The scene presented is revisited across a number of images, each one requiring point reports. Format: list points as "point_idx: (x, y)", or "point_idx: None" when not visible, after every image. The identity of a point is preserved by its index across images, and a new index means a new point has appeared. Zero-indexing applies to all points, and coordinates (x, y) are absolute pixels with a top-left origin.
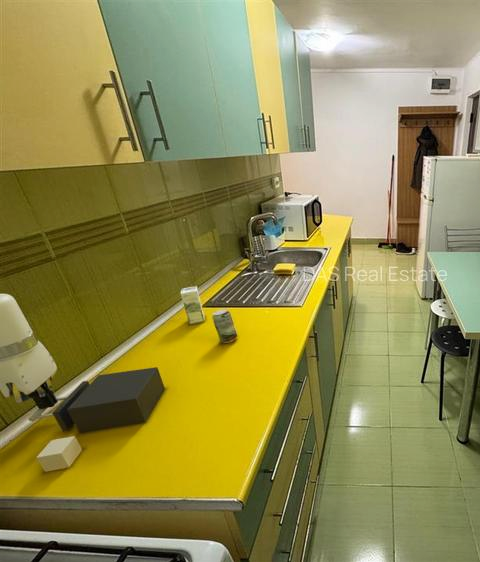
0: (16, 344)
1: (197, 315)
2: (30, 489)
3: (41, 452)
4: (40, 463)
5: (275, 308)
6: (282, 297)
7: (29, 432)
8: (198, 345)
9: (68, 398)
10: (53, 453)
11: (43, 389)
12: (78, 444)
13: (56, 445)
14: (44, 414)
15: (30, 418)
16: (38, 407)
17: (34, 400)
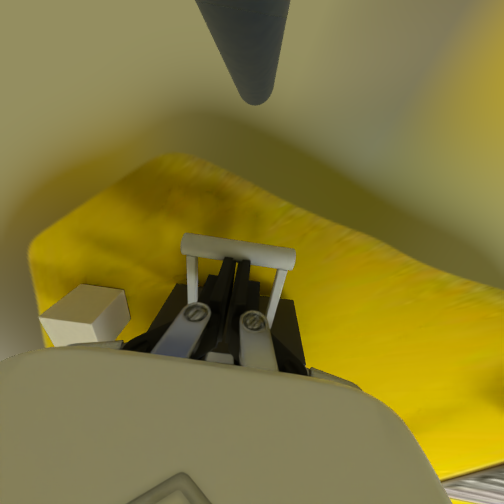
0: None
1: None
2: (43, 276)
3: (53, 320)
4: (58, 302)
5: (444, 477)
6: (483, 486)
7: (213, 188)
8: (402, 414)
9: (209, 356)
10: (53, 339)
11: (234, 347)
12: (118, 333)
13: (74, 337)
14: (195, 275)
15: (182, 243)
16: (224, 259)
17: (215, 284)
